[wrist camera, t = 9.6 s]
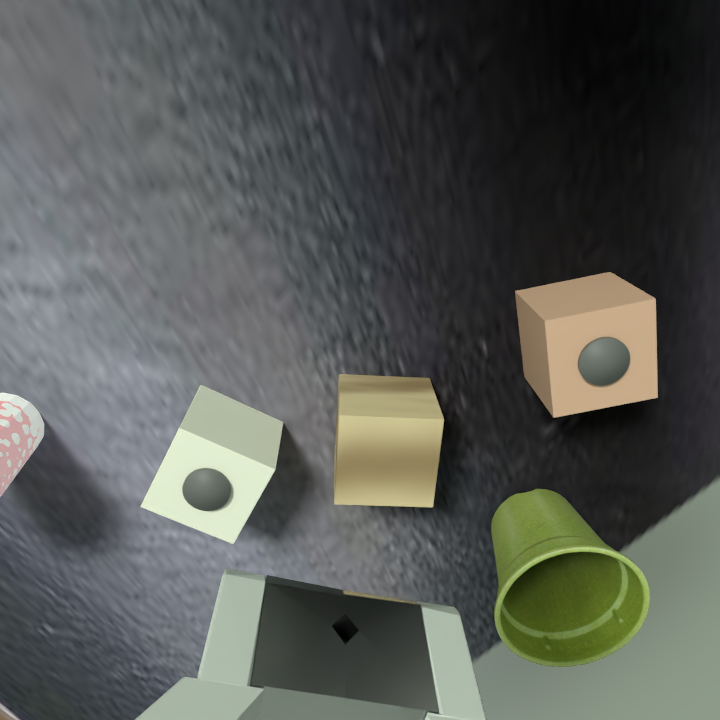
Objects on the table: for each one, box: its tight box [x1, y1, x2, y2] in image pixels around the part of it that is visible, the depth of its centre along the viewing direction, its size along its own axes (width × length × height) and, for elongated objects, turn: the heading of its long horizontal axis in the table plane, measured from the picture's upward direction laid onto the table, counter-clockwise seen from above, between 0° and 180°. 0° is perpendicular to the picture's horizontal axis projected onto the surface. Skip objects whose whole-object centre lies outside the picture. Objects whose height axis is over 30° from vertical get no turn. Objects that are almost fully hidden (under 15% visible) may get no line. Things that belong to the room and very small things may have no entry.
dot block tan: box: [515, 272, 658, 418], centre depth 37 cm, size 6×6×6 cm
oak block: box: [334, 374, 444, 507], centre depth 39 cm, size 6×6×6 cm
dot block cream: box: [141, 385, 283, 544], centre depth 39 cm, size 6×6×6 cm
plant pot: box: [491, 489, 650, 667], centre depth 41 cm, size 9×9×9 cm
